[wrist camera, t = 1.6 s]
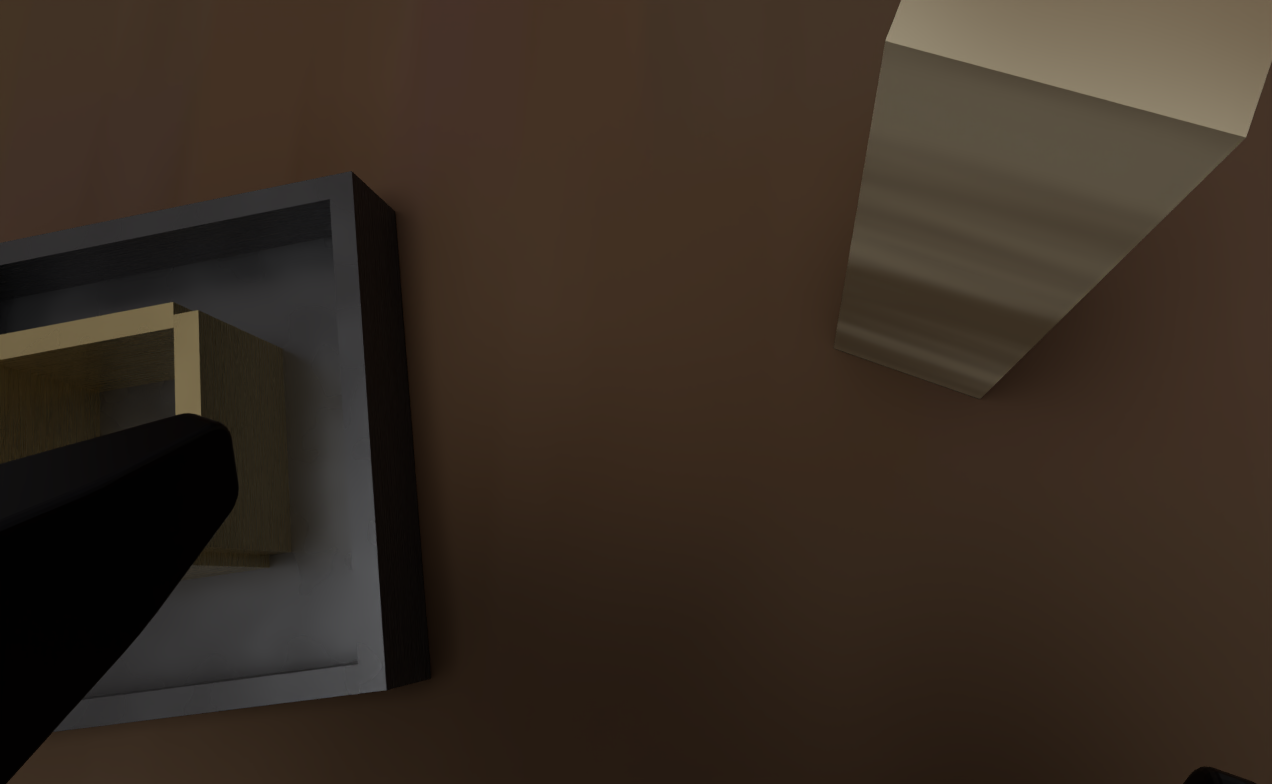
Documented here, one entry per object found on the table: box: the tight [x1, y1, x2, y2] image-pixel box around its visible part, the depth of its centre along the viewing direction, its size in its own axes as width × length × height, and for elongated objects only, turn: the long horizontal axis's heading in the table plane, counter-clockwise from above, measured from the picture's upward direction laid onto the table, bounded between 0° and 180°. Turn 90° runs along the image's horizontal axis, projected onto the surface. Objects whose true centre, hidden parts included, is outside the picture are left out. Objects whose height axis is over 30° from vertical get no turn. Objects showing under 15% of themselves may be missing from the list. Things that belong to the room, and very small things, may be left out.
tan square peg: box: [834, 0, 1272, 399], centre depth 16 cm, size 4×4×13 cm
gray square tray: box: [0, 171, 431, 732], centre depth 22 cm, size 12×12×4 cm
